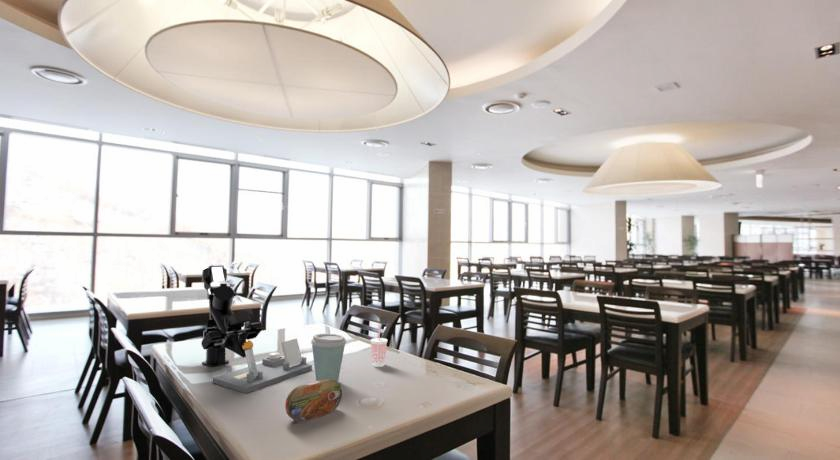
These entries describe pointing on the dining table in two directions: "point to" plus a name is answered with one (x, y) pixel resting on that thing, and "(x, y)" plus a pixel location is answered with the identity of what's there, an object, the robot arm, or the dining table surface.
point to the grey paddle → (291, 351)
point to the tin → (313, 400)
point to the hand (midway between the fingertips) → (245, 356)
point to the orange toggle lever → (250, 357)
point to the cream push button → (274, 356)
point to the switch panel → (261, 374)
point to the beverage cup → (378, 351)
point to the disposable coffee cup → (328, 355)
